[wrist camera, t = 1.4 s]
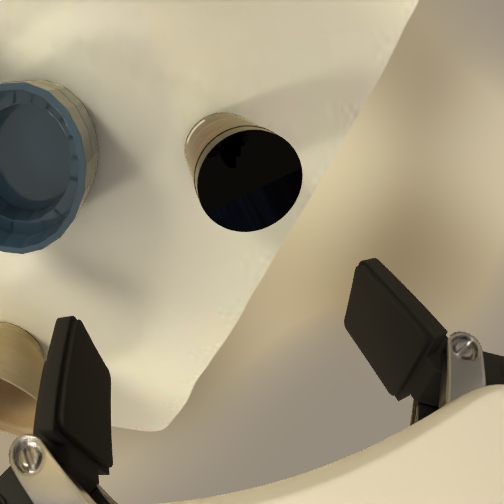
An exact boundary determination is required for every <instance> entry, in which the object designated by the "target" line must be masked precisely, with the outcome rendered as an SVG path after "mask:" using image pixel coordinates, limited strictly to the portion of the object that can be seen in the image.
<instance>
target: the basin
mask: <svg viewBox="0 0 504 504" xmlns="http://www.w3.org/2000/svg"><path fill="white" fill-rule="evenodd" d="M97 158H98V145H97V139H96V133H95V127H94V124H93V122H92V120H91V118H90V116H89V114H88V112H87V110H86V108H85V106H84V105H83V103H82V102H81V101H80V100H79V99H78V98H76V97H75V96H74V95H73V94H72V93H71V92H70V91H69V90H68V89H66V88H65V87H62V86H60V85H57V84H55V83H52V82H50V81H46V80H39V81H19V82H9V83H2V84H0V251H3V252H10V253H19V254H24V253H28V252H32V251H36V250H41V249H43V248H45V247H46V246H48V245H49V244H51V243H52V242H54V241H55V240H57V239H58V238H60V237H61V236H62V235H63V233H64V232H65V231H66V229H67V228H68V227H69V225H70V224H71V223H72V222H73V220H74V219H75V217H76V215H77V214H78V212H79V210H80V208H81V206H82V204H83V202H84V200H85V198H86V197H87V195H88V192H89V189H90V187H91V184H92V182H93V180H94V177H95V174H96V167H97Z"/></svg>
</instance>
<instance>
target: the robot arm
mask: <svg viewBox="0 0 504 504" xmlns="http://www.w3.org/2000/svg"><path fill="white" fill-rule="evenodd" d="M344 324H345V328H346V330H347V331H348V333H349V334H350V335H351V337H352V338H353V340H354V341H355V343H356V344H357V346H358V347H359V349H360V350H361V352H362V353H363V355H364V356H365V357H366V359H367V360H368V362H369V363H370V365H371V366H372V368H373V369H374V371H375V372H376V374H377V375H378V377H379V378H380V380H381V381H382V383H383V384H384V386H385V387H386V389H387V390H388V392H389V393H390V394H391V395H393V396H394V395H395V397H396V398H397V400H398V401H400V400H402V399H403V398H405V397H407V396H409V395H410V394H411V396H412V397H413V399H414V401H413V409H412V416H411V423H410V426H409V427H407V428H406V429H404V430H402V431H400V432H398V433H396V434H394V435H392V436H390V437H389V438H387V439H385V440H383V441H381V442H379V443H376V444H374V445H372V446H370V447H368V448H366V449H364V450H361V451H359V452H357V453H355V454H353V455H350V456H348V457H345V458H343V459H341V460H338V461H336V462H333V463H331V464H328V465H326V466H323V467H320V468H317V469H315V470H312V471H309V472H306V473H303V474H300V475H297V476H294V477H291V478H288V479H285V480H281V481H277V482H274V483H270V484H267V485H263V486H259V487H255V488H251V489H247V490H242V491H238V492H234V493H229V494H224V495H219V496H213V497H207V498H201V499H194V500H186V501H178V502H169V503H158V504H504V356H499V355H495V354H491V353H487V352H483V351H482V347H481V345H480V343H479V342H478V340H477V339H476V338H475V337H474V336H472V335H470V334H468V333H466V332H455V333H453V334H452V335H450V337H449V338H448V337H447V336H446V334H447V330H446V329H445V328H444V327H443V326H442V325H441V324H440V323H439V322H438V321H437V319H436V318H435V317H434V316H433V315H432V314H431V313H430V312H429V311H428V310H427V309H426V308H425V307H424V305H423V304H422V303H421V302H420V301H419V300H418V299H417V298H416V297H415V296H414V295H413V294H412V293H411V292H410V291H409V290H408V289H407V288H406V287H405V286H404V285H403V284H402V283H401V282H400V281H399V280H398V279H397V278H396V277H395V276H394V275H393V274H392V273H391V272H390V271H389V270H388V269H387V268H386V267H385V266H384V265H383V264H382V263H381V262H380V261H379V260H378V259H376V258H372V259H368V260H364V261H361V262H360V263H359V265H358V266H357V267H356V269H355V273H354V279H353V284H352V288H351V293H350V298H349V302H348V307H347V311H346V315H345V319H344ZM9 462H10V464H11V466H10V467H9V468H8V469H7V470H6V471H5V472H4V473H3V474H2V475H1V476H0V504H117V503H116V502H115V501H114V500H113V499H112V498H111V497H110V496H109V495H108V494H107V493H106V492H105V491H104V490H103V489H102V488H101V486H99V476H98V475H109V467H112V465H113V457H112V440H111V377H110V373H109V370H108V368H107V367H106V365H105V363H104V362H103V360H102V358H101V356H100V355H99V353H98V351H97V349H96V348H95V346H94V344H93V342H92V340H91V338H90V336H89V335H88V333H87V331H86V329H85V327H84V325H83V323H82V321H81V320H77V319H76V318H75V317H74V316H69V317H62V318H58V319H57V321H56V324H55V328H54V331H53V335H52V339H51V344H50V348H49V352H48V357H47V360H46V361H45V363H44V366H43V370H42V375H41V380H40V386H39V392H38V398H37V404H36V411H35V419H34V427H33V435H32V434H24V435H21V436H19V437H17V438H16V439H15V440H14V441H13V443H12V445H11V447H10V450H9Z"/></svg>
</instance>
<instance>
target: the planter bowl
mask: <svg viewBox="0 0 504 504" xmlns="http://www.w3.org/2000/svg"><path fill="white" fill-rule="evenodd" d="M44 363H45V361H44V359H43V353H42V350H41V347H40V346H39V344H38V343H37V341H36V340H35V339H34V338H33V337H32V336H31V335H30V334H29V333H27V332H26V331H24V330H23V329H21V328H20V327H17V326H15V325H13V324H9V323H4V322H0V431H2V432H5V433H8V434H11V435H14V436H18V437H19V436H21V435H24V434H32V435H33V427H34V419H35V411H36V404H37V398H38V392H39V386H40V380H41V375H42V370H43V366H44Z"/></svg>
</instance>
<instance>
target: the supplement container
mask: <svg viewBox="0 0 504 504" xmlns="http://www.w3.org/2000/svg"><path fill="white" fill-rule="evenodd" d="M185 157H186V161H187V164H188V167H189V170H190V173H191V176H192V178H193V181H194V186H195V190H196V193H197V196H198V198H199V201H200V203H201V206H202V207H203V209H204V211H205V212H206V214H207V215H208V216H209V217H210V218H211V219H212V220H213V221H214V222H215V223H217V224H218V225H220V226H222V227H224V228H226V229H229V230H233V231H239V232H250V231H256V230H260V229H263V228H266V227H268V226H270V225H272V224H274V223H276V222H277V221H278V220H280V219H281V218H282V217H283V216H285V215H286V214H287V212H288V211H289V210H290V209H291V208H292V206H293V205H294V203H295V201H296V200H297V197H298V195H299V192H300V189H301V185H302V167H301V163H300V160H299V157H298V155H297V153H296V151H295V150H294V148H293V147H292V146H291V145H290V144H289V143H288V142H287V141H286V140H285V139H283V138H282V137H280V136H279V135H277V134H275V133H273V132H272V131H270V130H268V129H265V128H263V127H260V126H258V125H256V124H254V123H252V122H250V121H248V120H246V119H243V118H241V117H239V116H237V115H234V114H231V113H216V114H212V115H209V116H207V117H205V118H203V119H201V120H200V121H199V122H198V123H196V124H195V125H194V127H193V128H192V129H191V131H190V132H189V134H188V137H187V139H186V143H185Z"/></svg>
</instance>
